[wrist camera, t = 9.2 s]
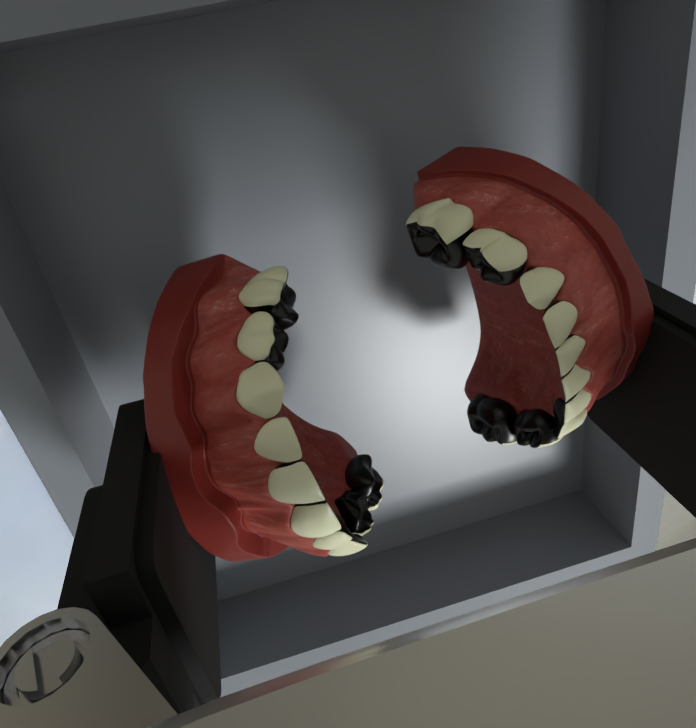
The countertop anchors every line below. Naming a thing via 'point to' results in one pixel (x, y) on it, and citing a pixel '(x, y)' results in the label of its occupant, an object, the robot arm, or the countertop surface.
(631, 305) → the denture
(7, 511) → the countertop surface
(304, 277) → the tray
